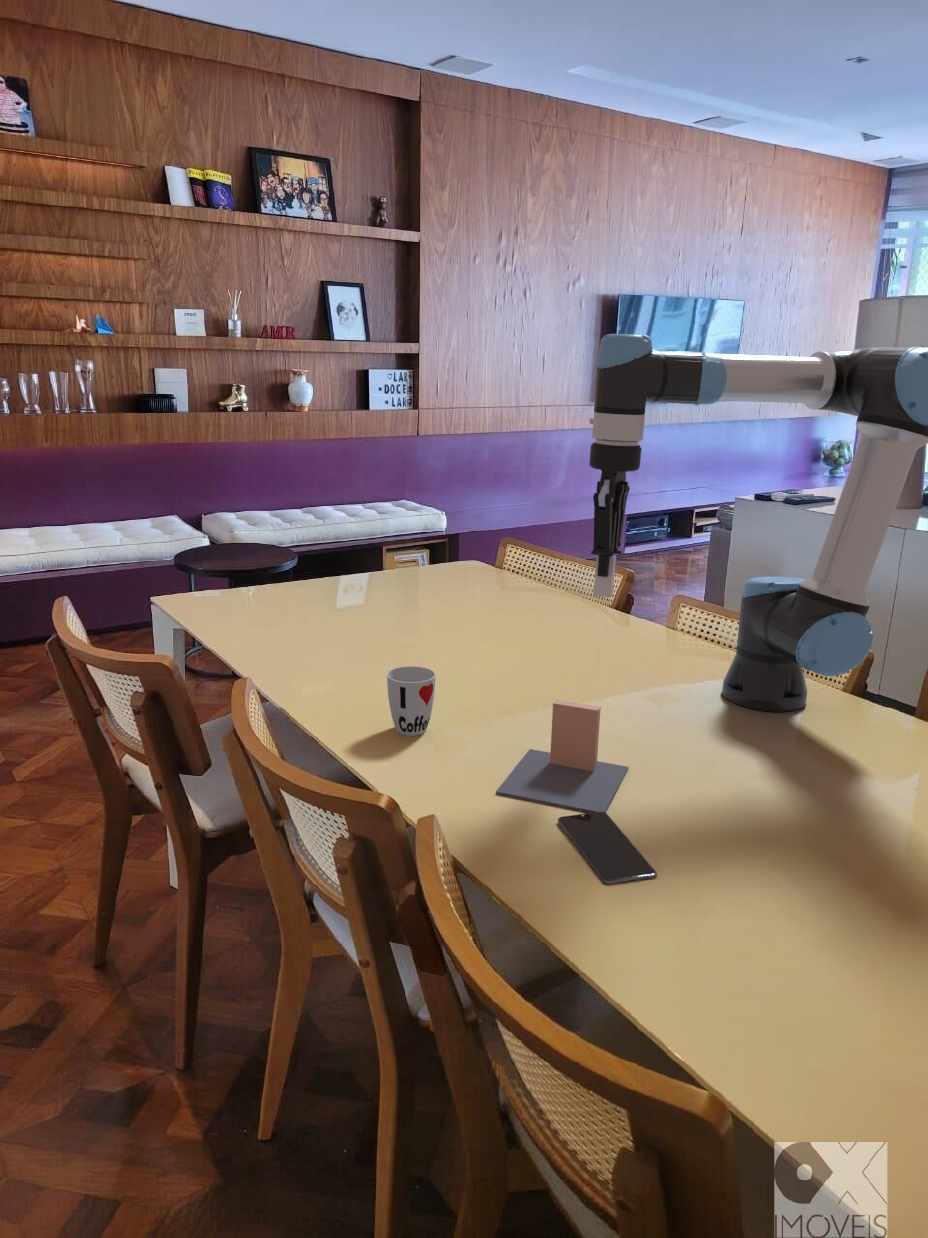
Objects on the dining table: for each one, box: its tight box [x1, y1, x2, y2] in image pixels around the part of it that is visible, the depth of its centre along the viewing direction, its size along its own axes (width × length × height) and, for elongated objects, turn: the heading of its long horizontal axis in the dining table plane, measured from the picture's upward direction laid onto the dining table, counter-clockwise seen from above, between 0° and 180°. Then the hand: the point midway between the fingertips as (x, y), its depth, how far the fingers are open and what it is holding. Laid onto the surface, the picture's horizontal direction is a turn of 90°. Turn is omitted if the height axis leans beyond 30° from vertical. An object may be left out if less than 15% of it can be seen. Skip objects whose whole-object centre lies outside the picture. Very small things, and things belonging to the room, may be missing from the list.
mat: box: [495, 748, 630, 814], centre depth 136 cm, size 16×16×1 cm
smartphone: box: [557, 812, 658, 886], centre depth 118 cm, size 7×1×16 cm
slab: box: [550, 699, 601, 771], centre depth 139 cm, size 7×2×10 cm, turn 68°
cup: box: [386, 665, 437, 737], centre depth 152 cm, size 8×8×10 cm
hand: (602, 595), depth 142 cm, fingers closed
